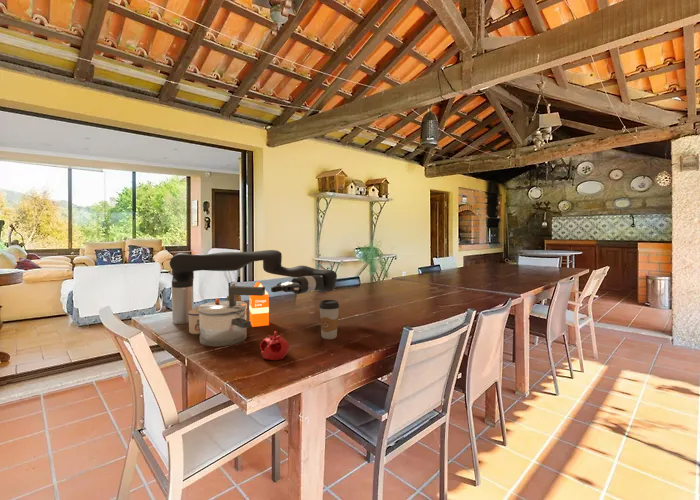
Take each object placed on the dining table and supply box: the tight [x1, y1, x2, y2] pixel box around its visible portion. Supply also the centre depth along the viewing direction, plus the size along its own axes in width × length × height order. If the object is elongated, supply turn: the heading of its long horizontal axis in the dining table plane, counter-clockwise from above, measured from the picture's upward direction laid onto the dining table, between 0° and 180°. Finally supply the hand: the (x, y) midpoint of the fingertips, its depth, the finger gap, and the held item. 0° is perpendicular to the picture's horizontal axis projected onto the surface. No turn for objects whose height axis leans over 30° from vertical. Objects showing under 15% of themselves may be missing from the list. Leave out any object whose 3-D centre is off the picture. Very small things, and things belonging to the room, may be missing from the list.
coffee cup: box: [318, 299, 340, 340], centre depth 144 cm, size 8×8×15 cm
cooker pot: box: [199, 309, 252, 347], centre depth 139 cm, size 26×18×12 cm
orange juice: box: [248, 280, 270, 328], centre depth 164 cm, size 8×9×20 cm
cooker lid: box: [198, 285, 266, 315], centre depth 140 cm, size 26×19×9 cm
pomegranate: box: [259, 330, 290, 361], centre depth 122 cm, size 10×10×9 cm
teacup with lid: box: [188, 304, 201, 335], centre depth 152 cm, size 12×9×12 cm
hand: (272, 289), depth 143 cm, fingers closed
